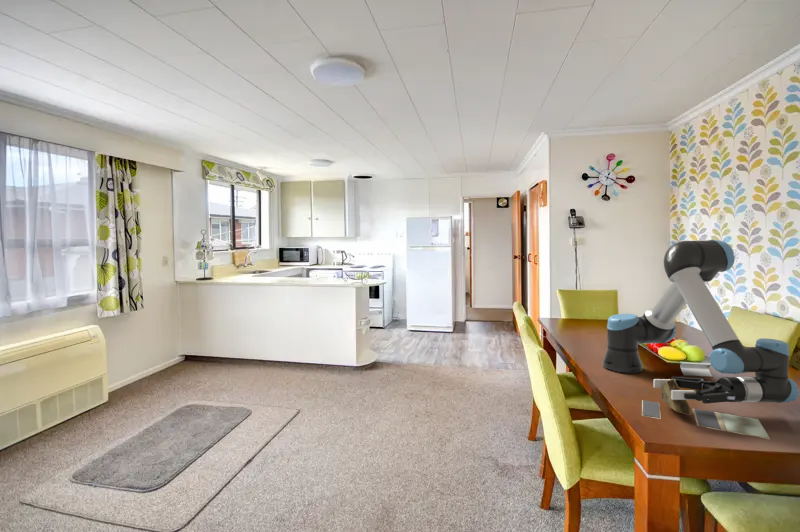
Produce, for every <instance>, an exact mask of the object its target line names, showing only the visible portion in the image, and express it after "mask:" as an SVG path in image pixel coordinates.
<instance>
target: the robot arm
mask: <svg viewBox="0 0 800 532" xmlns="http://www.w3.org/2000/svg"><path fill="white" fill-rule="evenodd" d="M734 252H735V251H734V250H733V248H732V246H731V245H730V244H729V243H727V242H726V241H724V240H719V239H718V240H715V239H708V240H681V241H678V242H675V243H674V244H672V245H671V246H670V247H668V249H667V250H666V252H665V254H664V258H663V268H664V272H665V274H666V276H667V278H668V280H669V281H670V282H671V283H670V284H669V285H668V287H667V288H666V289H665V291H664V293H663V294H662V295H661V296H660V298H659V300H658V301H657V302H656V303H655V305H654V307H652V308H648V309H646V311H645V312H644V314H643V315H641V316H638V315H636V314H634V313H618V314H612V315H611V316H609V317H608V319H607V325H606V330H607V332H606V335H607V336H606V337H607V342H606V344H607V345H606V346H607V347H606V352H605V354H604V357H603V360H602V367H603V366H604V367H606V368H608V369H610V370H609V371H611V370H613V371H612V372H615V371H617V372H616V373H620V372H625V373H624V374H639V373H638V372H640V373H641V371H642V372H643V363H642V360H641V358H640V354H639V345H647V344H649V345H650V344H663V343H668V342H670V341H672V340H673V338H674V337H675V335H676V333H677V332H676V331H675V330H677V329H676V328H677V327H676V321H675V319H676V318H677V317H678V316H679V315H680V313H681V312H682V311H683V310H684V308H685V307H686V306H687V307H688V308H689V310H690V311H691V314H692V315H693V317H694V318H695V320H696V322H697V324H698V326H699V328H700V329H701V331H702V333H703V334H704V337H705V338H706V340H707V341H708V343H709V345H710V347H711V348H712V349H711V352H710V353H709V362H710V365H711V366H712V368H713V369H714V370H715V371H717V372H719V373H722V374H730V375H731V374H733V375H738V374H744V373H745V374H746V373H754V376H722V377H720V378H719V379H718V380H716V381H715V380H708V381H707V380H706V378H705V377H687V376H685V377H684V376H674V375H672V376H671V379H672V378H673V379H674V380H675V382H676V383H677V385H678V387H679V388H680V389H681V388H682V389H681V390H671V399H672V400H687V401H688V400H689V401H690V400H691V401H695V400H696V401H698V402H702V403H703V404H704V405H705V404H716V403H726V402H727V403H741V402H742V403H746V404H750V403H777V404H780V403H781V404H782V403H789V402H790V403H793V402H794V401H797V400H798V398H799V395H800V389H799V388H798V384H797V383H796V382H795V380H793V379H792V378H789V369H790V367H789V366H790V357H791V355H790V346H789V344H788V343H787V342H786V341H783V340H781V339H780V340H779V339H776V338H763V337H762V338H758V339H757V340H756V341H755V345H754V346H748V347H746V346H744V344H743V343H742V342H741V340H740V338H739V337H738V336H737V334H736V332H735V331H734V329H733V327H732V325H731V324H730V322H729V321H728V319H727V317H726V316H725V314H724V313H723V311H722V309H721V308H720V306H719V304H718V302H717V300H715V298H714V296H713V295H712V292H711V291H710V289H709V288H708V286H707V285H706V283H709V282H711V281H713V279H714V278H715V277H716V275H717V274H718V273H725V272H726V271H729V270H731V268H732V267H733V265H734V264H735V259H736V257H735V255H734V254H735V253H734ZM604 367H603V368H604ZM606 368H605V369H606ZM608 369H607V370H608ZM671 379H670V378H668V379H667V378H666V379H665V378H662V379H661V378H654V379H653V383H652V384H653V385H652V386H653V388H654V389H662V386H663V384H664V383H665V382H666V381H669V380H671ZM684 389H687V390H684Z"/></svg>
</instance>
